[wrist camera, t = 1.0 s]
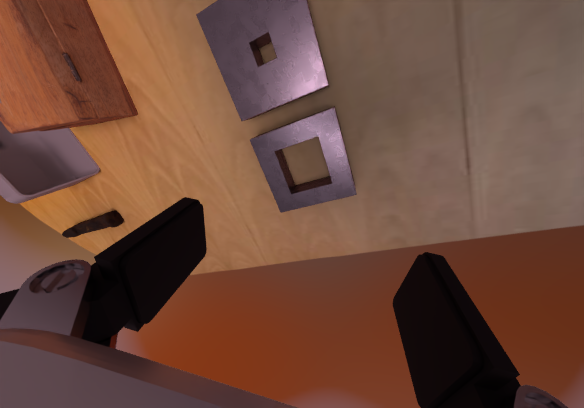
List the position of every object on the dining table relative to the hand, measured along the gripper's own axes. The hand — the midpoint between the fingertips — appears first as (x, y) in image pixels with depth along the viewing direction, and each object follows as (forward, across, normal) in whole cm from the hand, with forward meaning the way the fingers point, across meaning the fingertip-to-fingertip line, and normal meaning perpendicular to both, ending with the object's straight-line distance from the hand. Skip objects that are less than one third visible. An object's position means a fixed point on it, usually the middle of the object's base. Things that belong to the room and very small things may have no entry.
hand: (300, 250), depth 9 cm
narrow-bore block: (+30, +11, -10) cm, 33 cm away
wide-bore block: (+30, +3, +5) cm, 30 cm away
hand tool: (+30, +56, +33) cm, 72 cm away
